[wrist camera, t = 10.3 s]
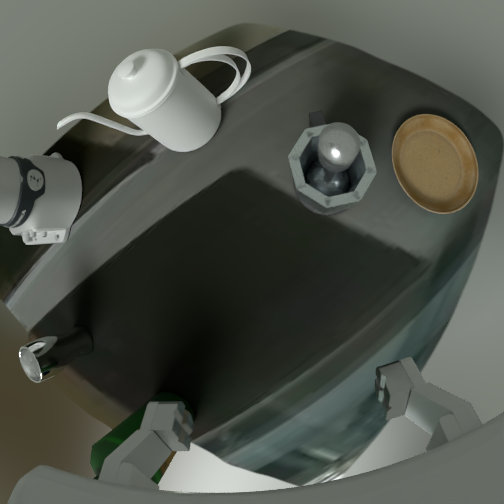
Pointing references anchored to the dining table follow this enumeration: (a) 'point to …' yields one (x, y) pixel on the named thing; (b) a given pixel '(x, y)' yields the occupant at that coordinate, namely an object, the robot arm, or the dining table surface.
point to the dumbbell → (334, 159)
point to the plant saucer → (435, 163)
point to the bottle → (127, 429)
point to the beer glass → (54, 353)
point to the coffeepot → (167, 97)
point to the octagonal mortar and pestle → (307, 154)
